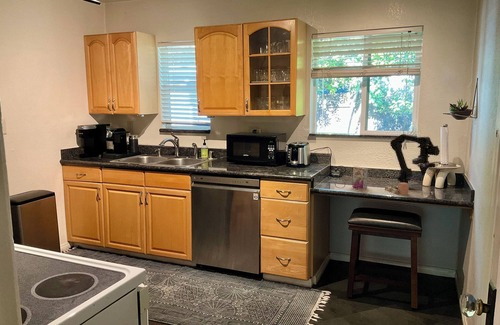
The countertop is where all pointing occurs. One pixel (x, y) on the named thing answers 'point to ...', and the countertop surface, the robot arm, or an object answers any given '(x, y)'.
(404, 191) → the terracotta block
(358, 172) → the candy bar box
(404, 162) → the robot arm
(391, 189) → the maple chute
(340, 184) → the countertop surface
